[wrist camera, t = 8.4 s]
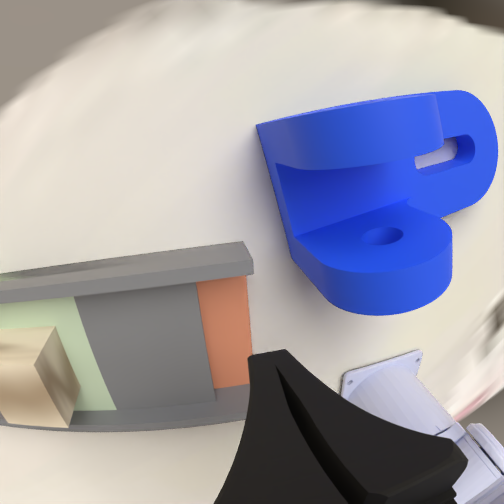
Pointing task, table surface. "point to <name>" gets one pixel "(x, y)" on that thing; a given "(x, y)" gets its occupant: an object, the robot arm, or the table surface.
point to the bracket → (378, 194)
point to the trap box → (145, 335)
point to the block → (36, 378)
